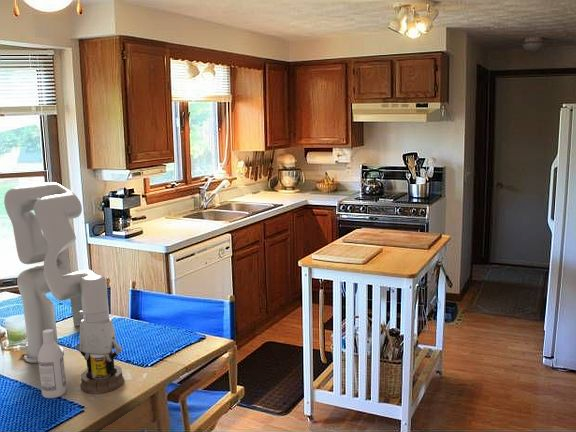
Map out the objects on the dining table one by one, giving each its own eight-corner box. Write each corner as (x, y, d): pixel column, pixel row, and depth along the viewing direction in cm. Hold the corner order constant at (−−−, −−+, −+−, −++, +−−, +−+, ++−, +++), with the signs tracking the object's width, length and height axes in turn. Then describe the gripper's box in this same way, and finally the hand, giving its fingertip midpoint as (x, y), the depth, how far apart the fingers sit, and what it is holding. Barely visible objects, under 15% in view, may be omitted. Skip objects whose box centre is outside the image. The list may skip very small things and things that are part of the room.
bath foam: (59, 385, 180) (52, 324, 176) (71, 392, 175) (64, 329, 171) (37, 394, 174) (30, 331, 171) (49, 401, 170) (42, 337, 166)
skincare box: (89, 326, 228) (86, 287, 225) (71, 326, 228) (67, 288, 225) (96, 318, 236) (93, 281, 233) (79, 318, 236) (75, 281, 233)
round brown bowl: (71, 392, 175) (70, 381, 174) (94, 372, 188) (93, 362, 187) (111, 395, 173) (110, 384, 172) (131, 375, 185) (130, 365, 184)
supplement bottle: (94, 382, 176) (92, 350, 174) (90, 375, 181) (87, 344, 179) (113, 377, 179) (110, 346, 177) (107, 370, 184) (105, 340, 182)
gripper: (63, 318, 174) (69, 374, 178) (116, 321, 171) (120, 378, 174) (77, 309, 181) (82, 363, 185) (128, 312, 178) (132, 367, 181)
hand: (101, 370), depth 179 cm, fingers closed on supplement bottle, 5 cm apart
